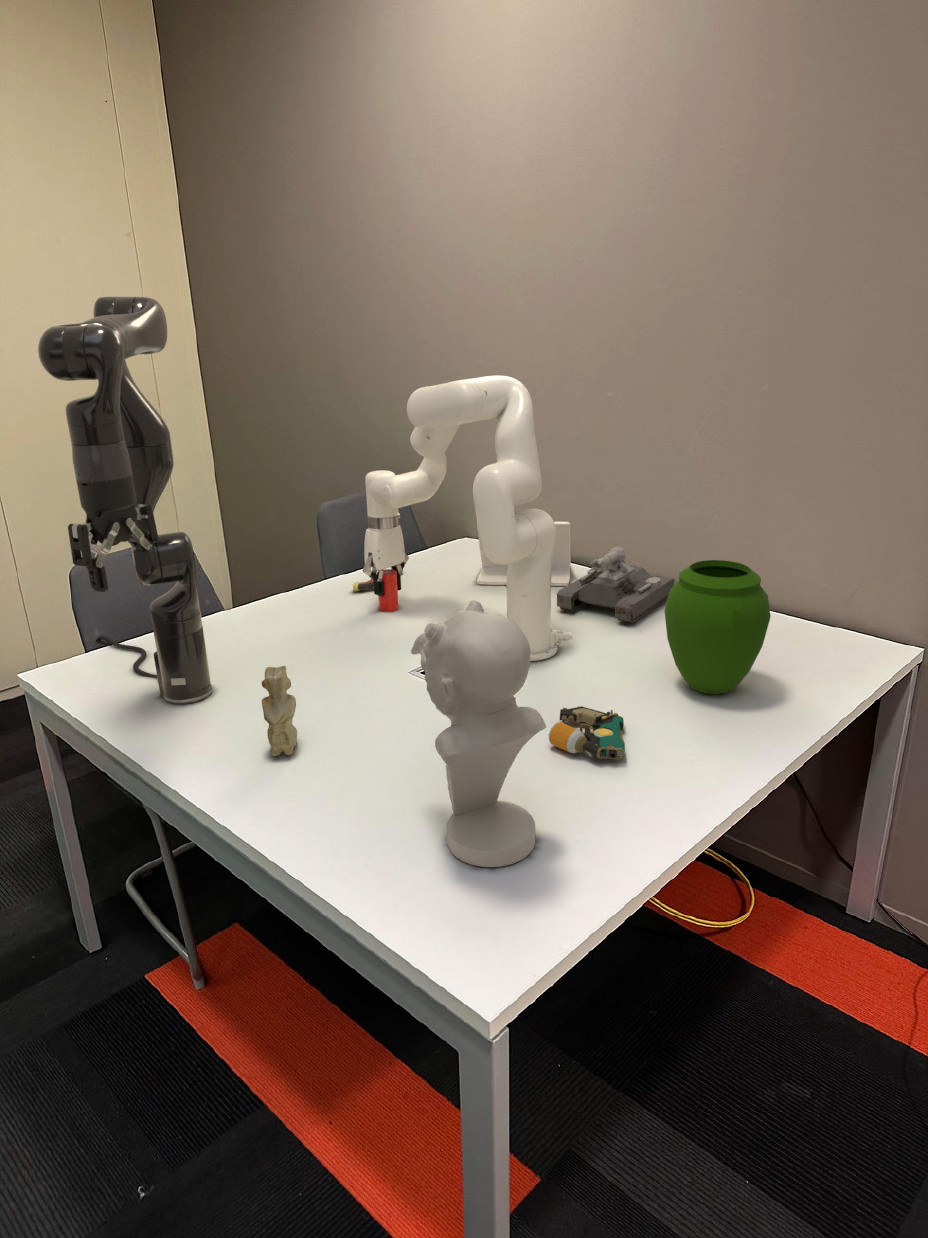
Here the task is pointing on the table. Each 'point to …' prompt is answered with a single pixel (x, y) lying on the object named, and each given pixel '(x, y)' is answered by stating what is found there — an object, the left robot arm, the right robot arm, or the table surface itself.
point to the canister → (389, 591)
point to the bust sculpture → (481, 729)
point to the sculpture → (279, 711)
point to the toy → (616, 588)
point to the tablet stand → (560, 561)
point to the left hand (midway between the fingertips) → (123, 582)
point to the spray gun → (589, 733)
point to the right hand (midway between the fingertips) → (387, 591)
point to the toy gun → (363, 585)
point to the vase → (716, 623)
